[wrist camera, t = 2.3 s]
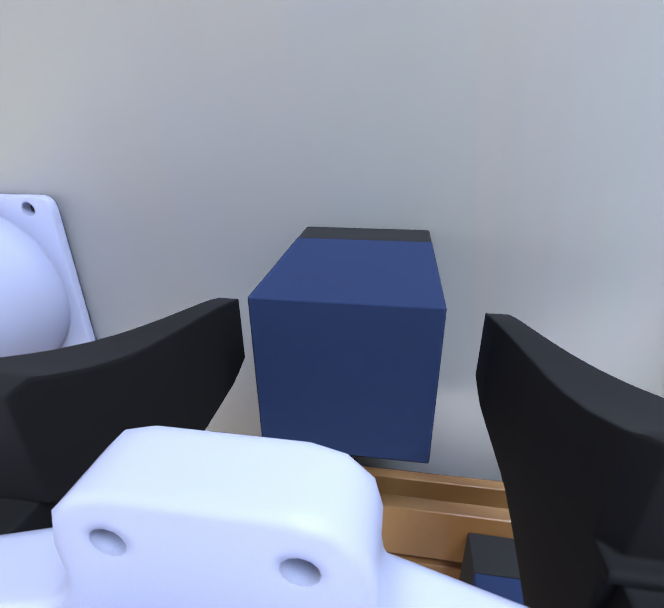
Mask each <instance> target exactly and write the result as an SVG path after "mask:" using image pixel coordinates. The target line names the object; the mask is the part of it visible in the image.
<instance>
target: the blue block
mask: <svg viewBox="0 0 664 608" xmlns="http://www.w3.org/2000/svg"><path fill="white" fill-rule="evenodd" d="M248 305H249V315H250V324H251V334H252V344H253V354H254V363H255V373H256V383H257V393H258V403H259V412H260V422H261V432H262V437H267V438H276V439H285V440H295V441H304V442H311V443H315V444H318V445H321V446H324V447H327V448H330V449H334V450H337V451H340V452H343V453H346V454H348V455H354V456H363V457H373V458H382V459H391V460H400V461H410V462H419V463H428V462H429V456H430V448H431V439H432V430H433V422H434V413H435V405H436V396H437V388H438V379H439V370H440V362H441V353H442V345H443V336H444V327H445V319H446V310H447V309H446V304H445V300H444V295H443V291H442V286H441V282H440V277H439V272H438V268H437V263H436V259H435V254H434V250H433V245H432V242H431V237H430V233H429V231H428V230H397V229H363V228H329V227H307V228H306V229H305V230H304V231H303V233H302V234H301V235H300V236H299V238H297V239H296V241H295V242H294V243H293V244H292V245H291V247H290V248H289V249H288V250H287V251H286V252H285V254H284V255H283V256H282V257H281V258H280V260H279V261H278V262H277V263H276V264H275V266H274V267H273V268H272V269H271V270H270V272H269V273H268V274H267V275H266V276H265V278H264V279H263V280H262V281H261V282H260V283H259V285H258V286H257V287H256V288H255V289H254V291H253V292H252V293H251V294H250V295H249V297H248Z"/></svg>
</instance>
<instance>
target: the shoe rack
mask: <svg viewBox="0 0 664 608" xmlns="http://www.w3.org/2000/svg"><path fill="white" fill-rule="evenodd" d="M362 467H363V468H364V469H365V470H366V471H368V472H369V473H370V474H371V475H372V476H373V477H374V478H375V480H376V483H377V487H378V490H379V493H380V496H381V500H382V503H383V520H382V540H383V546H384V548H385V550H386V551H387V552H388V553H391V554H393V555H396V556H398V557H401V558H403V559H406V560H409V561H411V562H414V563H416V564H419V565H421V566H424V567H426V568H429V569H432V570H434V571H437V572H439V573H442V574H444V575H447V576H450V577H452V578H455V579H457V580H459V578H460V572H461V567H462V562H463V556H464V551H465V546H466V540H467V535H468V533H474V534H481V535H489V536H497V537H504V538H512V539H514V537H513V531H512V525H511V520H510V515H509V509H508V504H507V498H506V493H505V488H504V484H503V482H501V481H492V480H483V479H474V478H465V477H457V476H448V475H439V474H430V473H421V472H412V471H403V470H394V469H385V468H376V467H367V466H362Z"/></svg>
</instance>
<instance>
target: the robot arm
mask: <svg viewBox="0 0 664 608" xmlns="http://www.w3.org/2000/svg"><path fill="white" fill-rule="evenodd" d="M30 204H31V205H32V206H33V208H34V210H35V212H33V211H32V209H31V207H30ZM244 358H245V354H244V345H243V336H242V327H241V318H240V309H239V301H238V299H229V298H217V299H213V300H209V301H206V302H203V303H201V304H198V305H195V306H193V307H190V308H188V309H185V310H183V311H180V312H178V313H175V314H173V315H171V316H168V317H166V318H163V319H160V320H157V321H155V322H152V323H149V324H147V325H144V326H141V327H138V328H136V329H133V330H130V331H127V332H124V333H120V334H117V335H114V336H110V337H106V338H103V339H99V340H95V336H94V333H93V329H92V326H91V322H90V319H89V315H88V312H87V308H86V305H85V301H84V297H83V294H82V290H81V287H80V283H79V280H78V276H77V273H76V269H75V266H74V262H73V259H72V255H71V251H70V248H69V244H68V241H67V237H66V234H65V230H64V227H63V223H62V220H61V216H60V212H59V209H58V206H57V204H56V202H55V201H54V200H53V199H52V198H50V197H49V196H47V195H34V194H0V608H664V398H662V397H660V396H657V395H655V394H652V393H650V392H647V391H644V390H642V389H640V388H637V387H635V386H633V385H630V384H628V383H626V382H624V381H621V380H619V379H617V378H615V377H613V376H611V375H609V374H607V373H605V372H603V371H601V370H599V369H597V368H595V367H593V366H591V365H589V364H587V363H586V362H584V361H582V360H580V359H579V358H577V357H575V356H573V355H572V354H570V353H568V352H567V351H565V350H563V349H562V348H560V347H559V346H557V345H556V344H554V343H552V342H551V341H549V340H548V339H546V338H545V337H543V336H542V335H540V334H539V333H537V332H536V331H534V330H533V329H531V328H530V327H528V326H527V325H525V324H524V323H522V322H521V321H519V320H518V319H516V318H514V317H512V316H510V315H505V314H487V313H486V314H485V321H484V327H483V333H482V339H481V345H480V352H479V358H478V364H477V370H476V381H477V389H478V396H479V402H480V407H481V410H482V414H483V417H484V420H485V424H486V427H487V430H488V433H489V437H490V440H491V443H492V446H493V450H494V453H495V456H496V459H497V462H498V466H499V469H500V472H501V476H502V480H503V484H504V488H505V493H506V498H507V504H508V509H509V515H510V520H511V525H512V531H513V537H514V543H515V549H516V555H517V561H518V568H519V575H520V582H521V588H522V595H523V602H524V605H521V604H519V603H516V602H514V601H511V600H509V599H506V598H504V597H501V596H498V595H496V594H493V593H491V592H488V591H486V590H483V589H480V588H478V587H475V586H473V585H470V584H468V583H465V582H462V581H460V580H457V579H455V578H452V577H450V576H447V575H444V574H442V573H439V572H437V571H434V570H432V569H429V568H426V567H424V566H421V565H419V564H416V563H414V562H411V561H409V560H406V559H403V558H401V557H398V556H396V555H393V554H391V553H388V552H387V551H386V550H385V548H384V546H383V540H382V520H383V503H382V500H381V496H380V493H379V490H378V487H377V483H376V480H375V478H374V477H373V476H372V475H371V474H370V473H369V472H368V471H366V470H365V469H364V468H363V467H362V466H361V465H360V464H358V463H357V462H356V461H355V460H354V459H353V458H352V457H351V456H349V455H348V454H346V453H343V452H340V451H337V450H334V449H330V448H327V447H324V446H321V445H318V444H315V443H311V442H304V441H295V440H285V439H276V438H267V437H258V436H248V435H239V434H230V433H221V432H211V431H205V429H206V427H207V426H208V424H209V423H210V421H211V419H212V418H213V416H214V415H215V413H216V412H217V410H218V408H219V407H220V405H221V404H222V402H223V400H224V399H225V397H226V395H227V394H228V392H229V391H230V389H231V387H232V386H233V384H234V382H235V380H236V377H237V375H238V373H239V371H240V368H241V366H242V363H243V361H244Z"/></svg>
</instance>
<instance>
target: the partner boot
mask: <svg viewBox="0 0 664 608" xmlns="http://www.w3.org/2000/svg"><path fill="white" fill-rule="evenodd" d="M459 580H460V581H462V582H465V583H468V584H470V585H473V586H475V587H478V588H480V589H483V590H486V591H488V592H491V593H493V594H496V595H498V596H501V597H504V598H506V599H509V600H511V601H514V602H516V603H519V604H521V605H524V602H523V595H522V588H521V582H520V575H519V568H518V561H517V555H516V549H515V543H514V539H512V538H504V537H497V536H489V535H481V534H474V533H468V535H467V540H466V546H465V551H464V556H463V562H462V567H461V572H460V578H459Z"/></svg>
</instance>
